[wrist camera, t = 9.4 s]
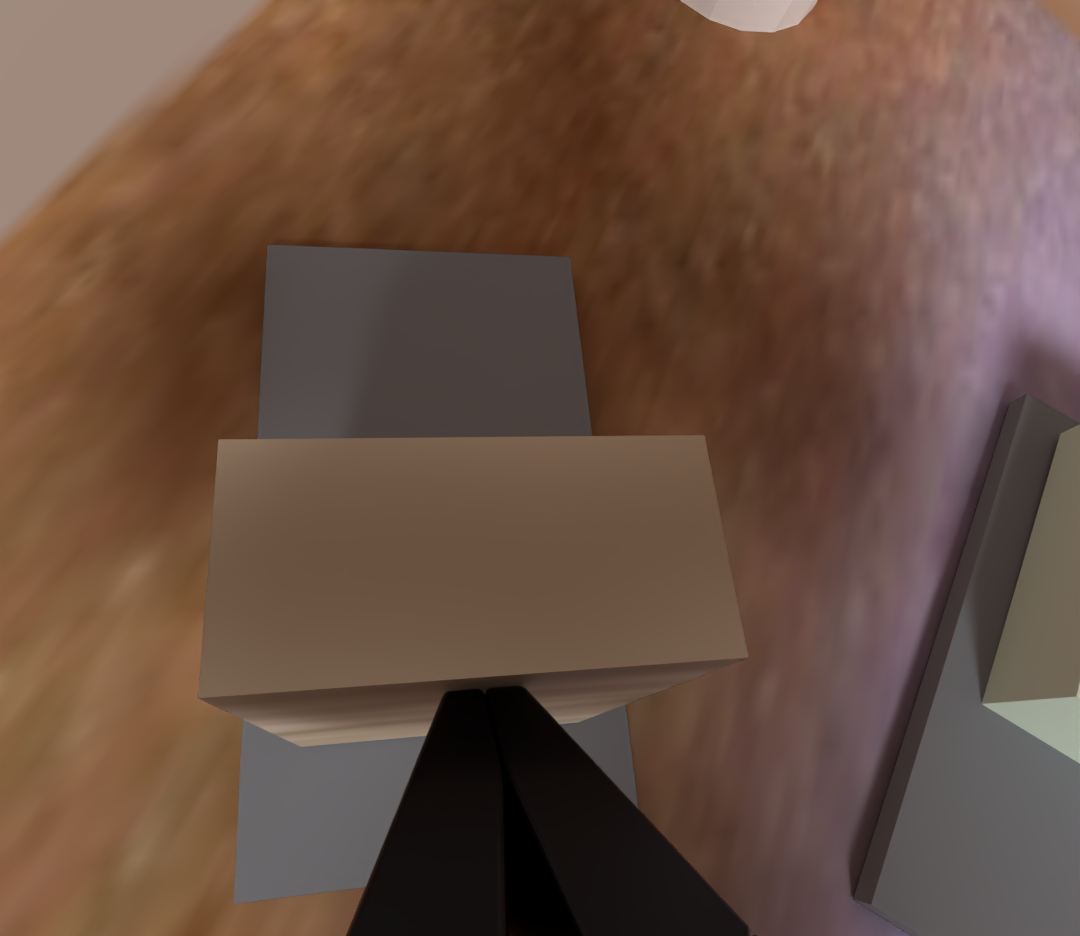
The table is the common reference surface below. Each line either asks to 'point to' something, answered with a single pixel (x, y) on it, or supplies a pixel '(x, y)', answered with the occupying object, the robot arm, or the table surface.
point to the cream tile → (459, 578)
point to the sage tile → (1046, 617)
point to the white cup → (754, 13)
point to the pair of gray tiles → (386, 765)
